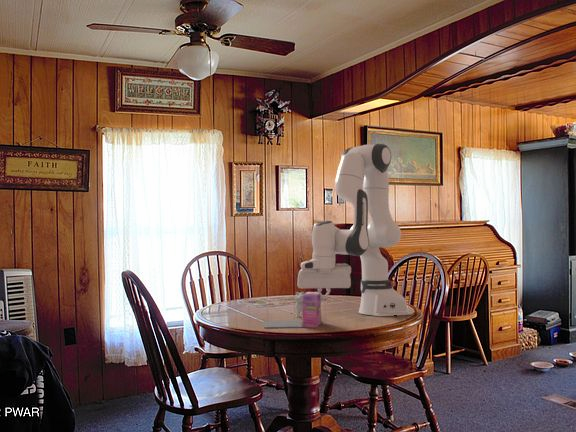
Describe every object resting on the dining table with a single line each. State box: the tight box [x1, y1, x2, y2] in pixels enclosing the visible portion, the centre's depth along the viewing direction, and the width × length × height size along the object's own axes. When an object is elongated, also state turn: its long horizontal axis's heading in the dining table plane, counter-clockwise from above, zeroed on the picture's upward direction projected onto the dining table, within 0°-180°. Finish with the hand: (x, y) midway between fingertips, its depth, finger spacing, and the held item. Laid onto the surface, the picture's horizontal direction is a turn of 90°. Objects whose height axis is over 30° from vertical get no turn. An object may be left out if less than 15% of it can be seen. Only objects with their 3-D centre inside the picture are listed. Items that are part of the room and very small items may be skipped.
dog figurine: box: [294, 291, 306, 318], centre depth 214 cm, size 5×13×11 cm, turn 162°
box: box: [301, 291, 322, 329], centre depth 195 cm, size 10×6×12 cm, turn 169°
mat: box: [264, 320, 303, 329], centre depth 196 cm, size 14×12×1 cm
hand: (324, 300), depth 195 cm, fingers closed
